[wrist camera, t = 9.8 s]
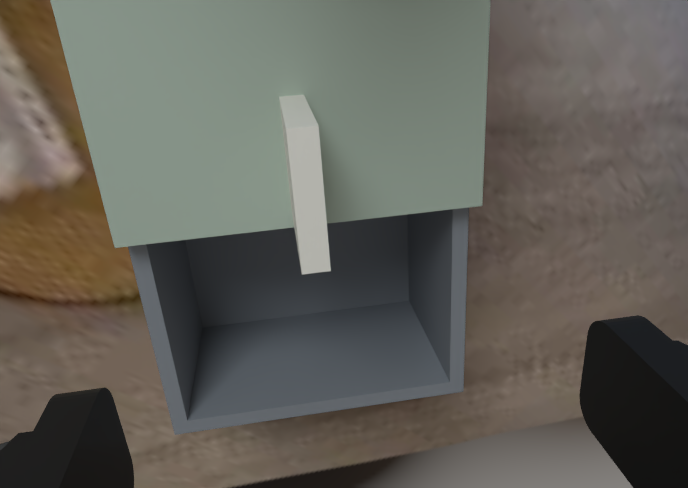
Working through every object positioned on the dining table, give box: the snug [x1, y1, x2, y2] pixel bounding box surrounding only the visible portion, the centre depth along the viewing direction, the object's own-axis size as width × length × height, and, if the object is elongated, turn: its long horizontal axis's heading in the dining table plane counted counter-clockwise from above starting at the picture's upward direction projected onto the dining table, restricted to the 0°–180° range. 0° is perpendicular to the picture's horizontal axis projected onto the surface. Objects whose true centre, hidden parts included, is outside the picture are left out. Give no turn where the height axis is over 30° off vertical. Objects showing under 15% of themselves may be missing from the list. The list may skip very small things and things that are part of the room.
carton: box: [128, 207, 469, 435], centre depth 32 cm, size 16×16×10 cm
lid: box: [51, 0, 490, 274], centre depth 19 cm, size 16×16×7 cm
